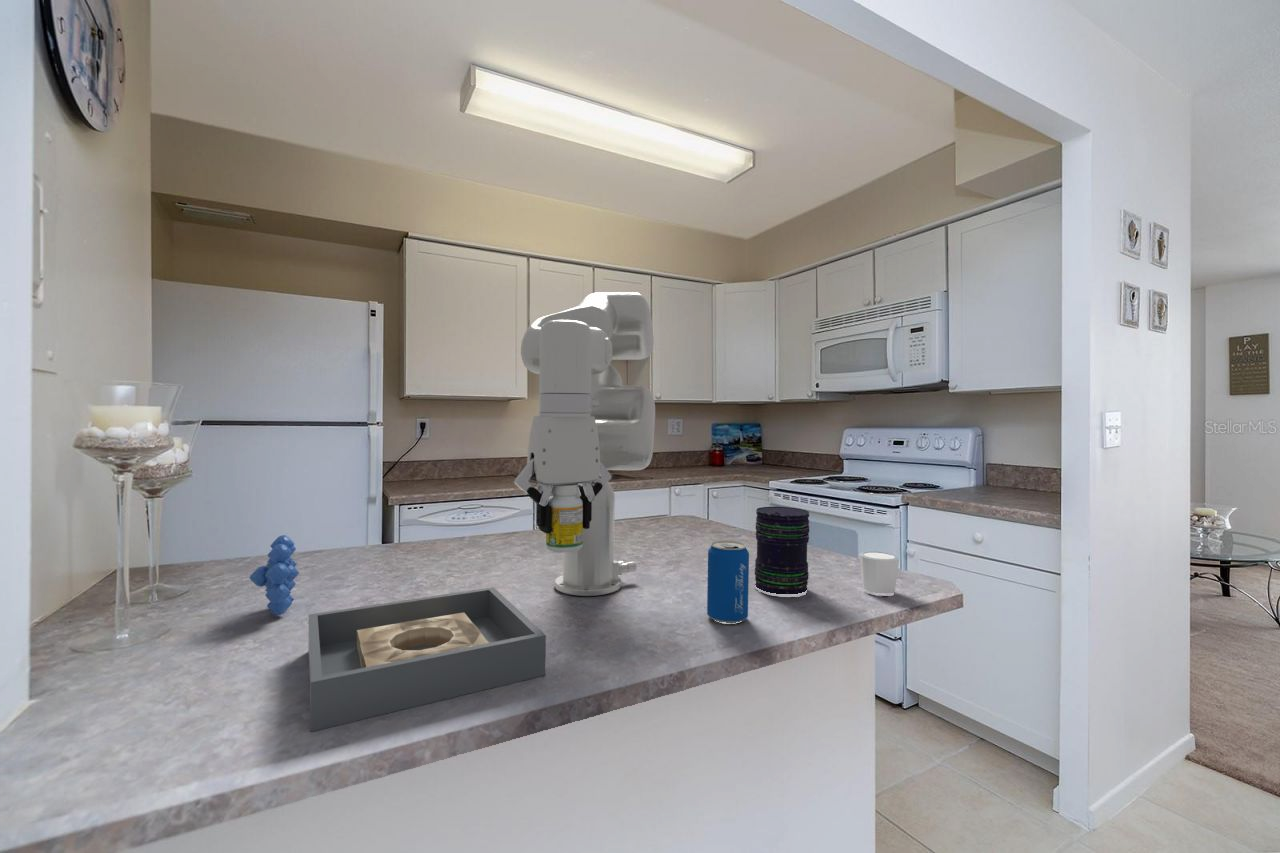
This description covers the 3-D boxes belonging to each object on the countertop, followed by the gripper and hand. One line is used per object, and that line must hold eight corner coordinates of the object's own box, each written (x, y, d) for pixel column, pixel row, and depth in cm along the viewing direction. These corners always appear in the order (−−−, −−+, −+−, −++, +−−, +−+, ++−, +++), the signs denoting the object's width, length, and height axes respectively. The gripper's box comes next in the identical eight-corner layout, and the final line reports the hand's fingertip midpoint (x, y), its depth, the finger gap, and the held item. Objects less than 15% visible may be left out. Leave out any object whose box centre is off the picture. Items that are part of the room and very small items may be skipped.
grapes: (255, 603, 93) (255, 532, 93) (302, 598, 96) (302, 529, 96) (242, 627, 83) (242, 547, 83) (295, 620, 86) (295, 542, 86)
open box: (493, 618, 88) (493, 587, 88) (545, 675, 69) (545, 635, 69) (308, 651, 75) (308, 614, 75) (310, 731, 56) (310, 682, 56)
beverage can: (722, 629, 85) (724, 550, 85) (699, 615, 91) (700, 542, 90) (756, 622, 88) (757, 546, 88) (731, 609, 94) (732, 538, 93)
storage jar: (766, 579, 112) (768, 504, 112) (815, 588, 106) (817, 510, 106) (745, 591, 104) (746, 511, 104) (796, 601, 98) (798, 517, 98)
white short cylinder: (900, 591, 105) (901, 554, 105) (895, 600, 100) (896, 561, 99) (862, 584, 109) (863, 549, 109) (854, 593, 103) (855, 556, 103)
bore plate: (464, 628, 82) (464, 612, 81) (492, 665, 69) (492, 646, 69) (356, 647, 74) (356, 630, 74) (366, 693, 62) (367, 672, 62)
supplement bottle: (585, 552, 81) (586, 486, 80) (548, 554, 79) (549, 487, 79) (578, 542, 86) (579, 480, 85) (543, 545, 84) (544, 481, 84)
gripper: (605, 406, 89) (604, 519, 90) (499, 405, 80) (499, 530, 81) (628, 407, 83) (627, 528, 84) (517, 406, 74) (516, 541, 75)
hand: (564, 528), depth 82 cm, fingers closed on supplement bottle, 5 cm apart
